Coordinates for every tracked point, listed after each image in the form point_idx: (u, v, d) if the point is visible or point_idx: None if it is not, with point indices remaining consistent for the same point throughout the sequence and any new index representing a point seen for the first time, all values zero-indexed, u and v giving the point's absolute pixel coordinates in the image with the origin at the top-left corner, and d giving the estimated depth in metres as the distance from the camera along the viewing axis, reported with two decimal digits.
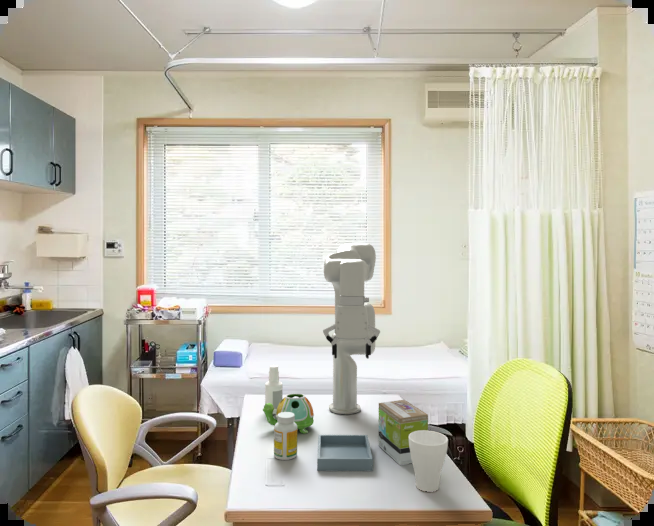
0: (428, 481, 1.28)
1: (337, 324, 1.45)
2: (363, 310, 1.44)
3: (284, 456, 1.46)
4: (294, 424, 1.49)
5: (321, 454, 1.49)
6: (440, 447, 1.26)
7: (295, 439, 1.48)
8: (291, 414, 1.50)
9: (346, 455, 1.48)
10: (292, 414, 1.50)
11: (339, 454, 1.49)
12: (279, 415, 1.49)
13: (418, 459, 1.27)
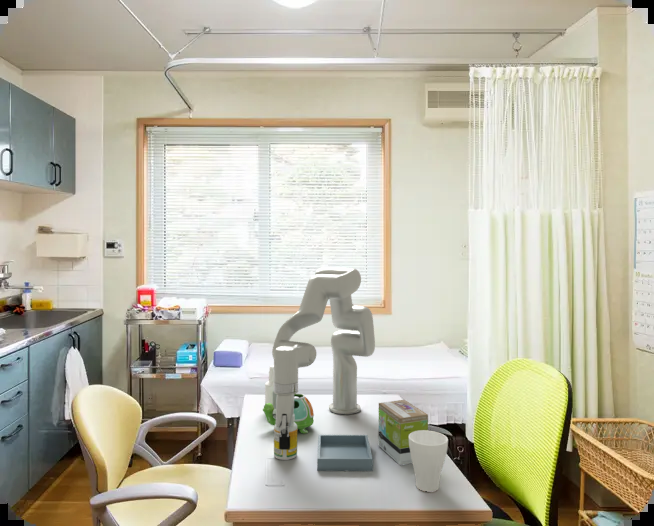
0: (428, 481, 1.28)
1: (291, 413, 1.45)
2: None
3: (284, 456, 1.46)
4: (294, 424, 1.49)
5: (321, 454, 1.49)
6: (440, 447, 1.26)
7: (295, 439, 1.48)
8: None
9: (346, 455, 1.48)
10: None
11: (339, 454, 1.49)
12: None
13: (418, 459, 1.27)
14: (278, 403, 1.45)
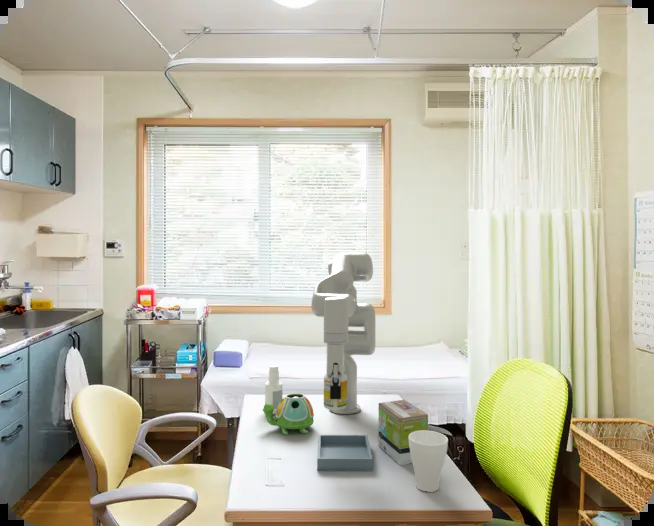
0: (428, 481, 1.28)
1: (342, 362, 1.44)
2: None
3: (334, 406, 1.45)
4: (344, 375, 1.48)
5: (321, 454, 1.49)
6: (440, 447, 1.26)
7: (345, 389, 1.47)
8: None
9: (346, 455, 1.48)
10: None
11: (339, 454, 1.49)
12: None
13: (418, 459, 1.27)
14: (329, 352, 1.44)
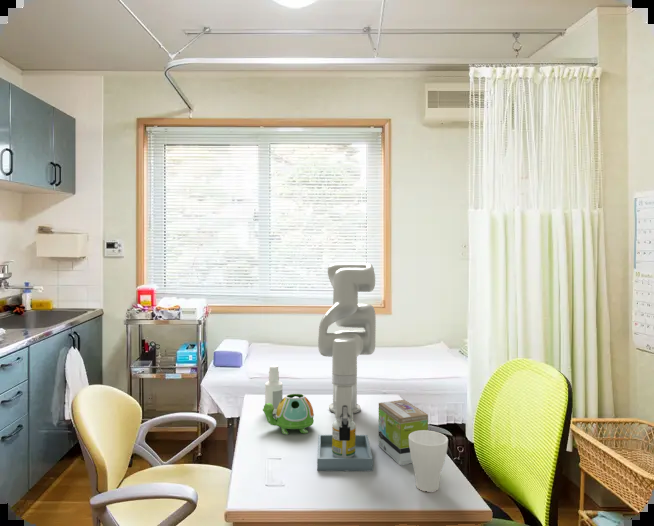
0: (428, 481, 1.28)
1: (351, 405, 1.44)
2: None
3: (343, 455, 1.46)
4: (353, 423, 1.48)
5: (321, 454, 1.49)
6: (440, 447, 1.26)
7: (354, 438, 1.47)
8: None
9: None
10: None
11: None
12: None
13: (418, 459, 1.27)
14: (338, 395, 1.44)
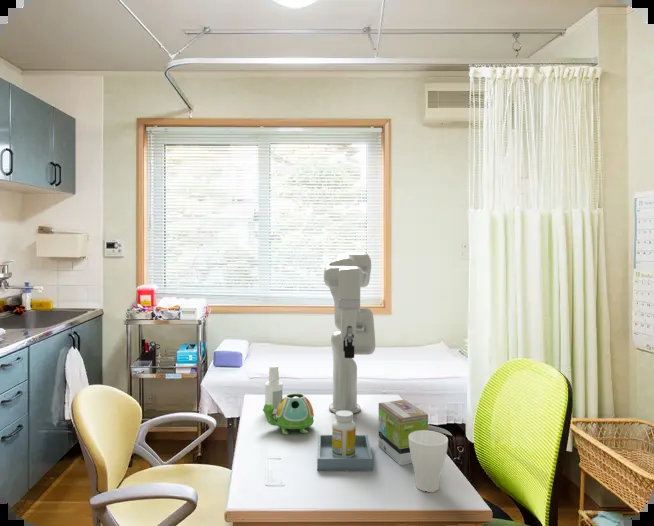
0: (428, 481, 1.28)
1: (355, 326, 1.59)
2: None
3: (343, 455, 1.46)
4: (353, 423, 1.48)
5: (321, 454, 1.49)
6: (440, 447, 1.26)
7: (354, 438, 1.47)
8: (349, 413, 1.49)
9: None
10: (350, 413, 1.49)
11: None
12: (338, 413, 1.48)
13: (418, 459, 1.27)
14: (344, 316, 1.59)
